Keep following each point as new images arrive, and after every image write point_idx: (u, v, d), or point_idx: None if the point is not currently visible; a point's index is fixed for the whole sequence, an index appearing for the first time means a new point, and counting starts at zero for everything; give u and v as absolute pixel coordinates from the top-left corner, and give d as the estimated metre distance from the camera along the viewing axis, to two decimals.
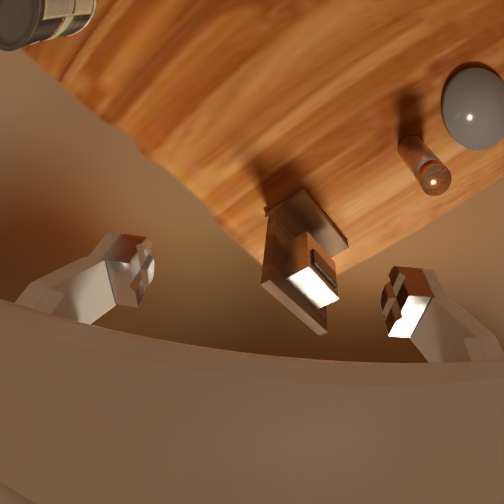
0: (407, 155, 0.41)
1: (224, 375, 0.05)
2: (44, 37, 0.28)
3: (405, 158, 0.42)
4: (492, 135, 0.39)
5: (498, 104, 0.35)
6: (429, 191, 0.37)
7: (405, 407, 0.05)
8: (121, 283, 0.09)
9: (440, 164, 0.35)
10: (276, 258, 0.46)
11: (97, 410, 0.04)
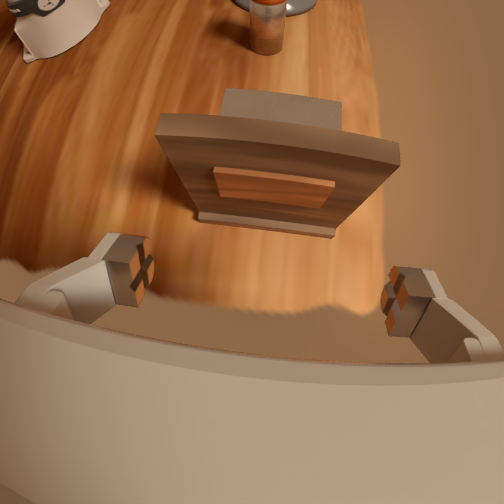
0: (252, 29, 0.34)
1: (224, 375, 0.05)
2: None
3: (256, 34, 0.34)
4: None
5: None
6: None
7: (405, 407, 0.05)
8: (121, 283, 0.09)
9: None
10: None
11: (96, 410, 0.04)
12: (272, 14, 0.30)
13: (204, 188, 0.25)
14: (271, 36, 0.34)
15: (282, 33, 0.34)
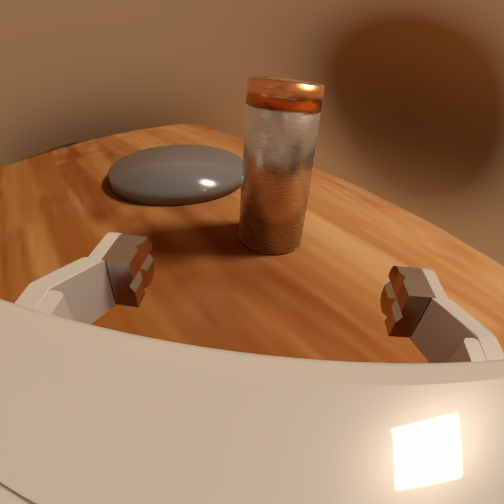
0: (273, 195, 0.19)
1: (224, 375, 0.05)
2: None
3: (283, 202, 0.19)
4: (216, 154, 0.34)
5: (166, 153, 0.34)
6: (316, 84, 0.17)
7: (405, 407, 0.05)
8: (121, 283, 0.09)
9: (247, 78, 0.17)
10: None
11: (96, 410, 0.04)
12: (315, 137, 0.18)
13: None
14: (306, 197, 0.20)
15: None
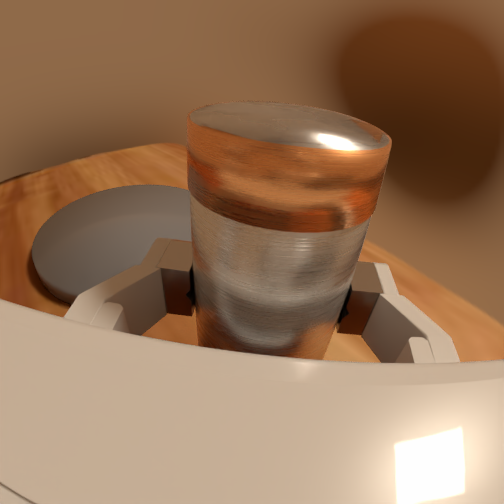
0: None
1: (224, 375, 0.05)
2: None
3: None
4: (185, 203, 0.24)
5: (117, 201, 0.24)
6: (371, 134, 0.06)
7: (405, 407, 0.05)
8: (176, 292, 0.09)
9: (189, 116, 0.07)
10: None
11: (96, 410, 0.04)
12: (355, 266, 0.08)
13: None
14: (322, 359, 0.10)
15: None
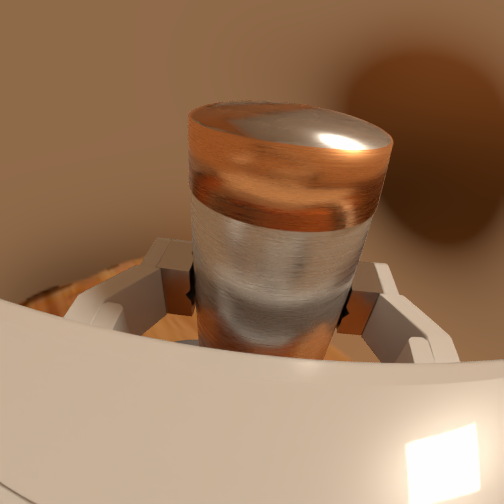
0: None
1: (224, 375, 0.05)
2: None
3: None
4: None
5: None
6: (372, 134, 0.06)
7: (405, 407, 0.05)
8: (176, 292, 0.09)
9: (190, 115, 0.07)
10: None
11: (96, 411, 0.04)
12: (356, 265, 0.08)
13: None
14: (322, 359, 0.10)
15: None
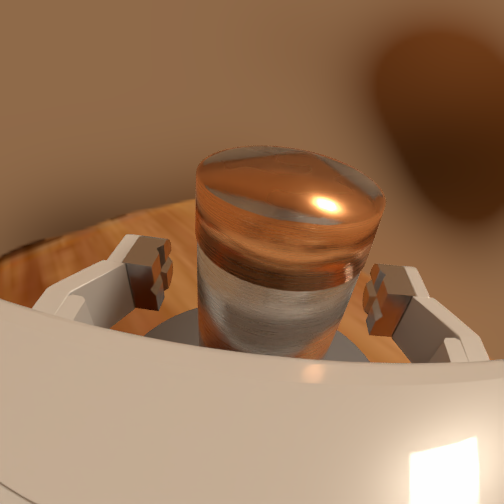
0: None
1: (224, 375, 0.05)
2: None
3: None
4: None
5: None
6: (367, 194, 0.07)
7: (405, 407, 0.05)
8: (142, 286, 0.09)
9: None
10: None
11: (97, 410, 0.04)
12: (345, 308, 0.09)
13: None
14: None
15: None
